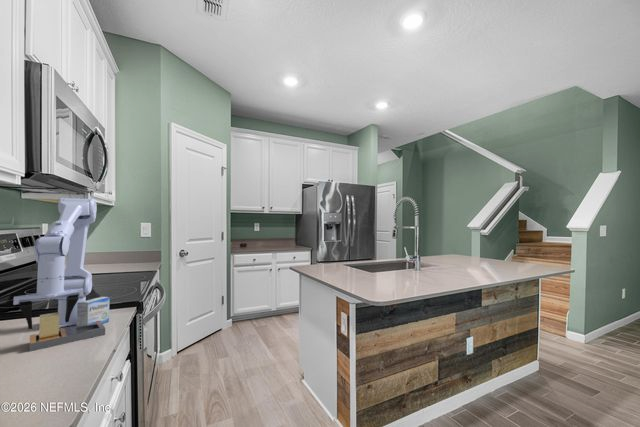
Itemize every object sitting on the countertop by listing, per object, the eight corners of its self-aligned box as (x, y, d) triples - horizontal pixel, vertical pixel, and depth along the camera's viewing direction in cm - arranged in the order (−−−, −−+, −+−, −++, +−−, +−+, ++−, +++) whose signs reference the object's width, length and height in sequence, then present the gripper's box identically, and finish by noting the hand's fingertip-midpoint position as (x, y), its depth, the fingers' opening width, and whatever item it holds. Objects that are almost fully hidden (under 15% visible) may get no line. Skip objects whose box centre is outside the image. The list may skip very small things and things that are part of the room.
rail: (29, 342, 81) (29, 335, 81) (100, 328, 93) (100, 321, 93) (29, 351, 76) (29, 343, 76) (105, 334, 88) (105, 327, 88)
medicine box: (86, 329, 92) (87, 302, 93) (75, 328, 93) (76, 302, 93) (109, 321, 100) (110, 296, 100) (99, 320, 101) (99, 296, 101)
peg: (38, 343, 81) (39, 315, 82) (57, 339, 84) (58, 312, 84) (38, 347, 78) (40, 318, 79) (58, 343, 81) (59, 314, 82)
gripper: (13, 283, 74) (11, 335, 74) (85, 275, 85) (83, 321, 84) (15, 279, 79) (12, 328, 79) (82, 273, 90) (80, 316, 89)
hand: (49, 324), depth 82 cm, fingers open, 7 cm apart
